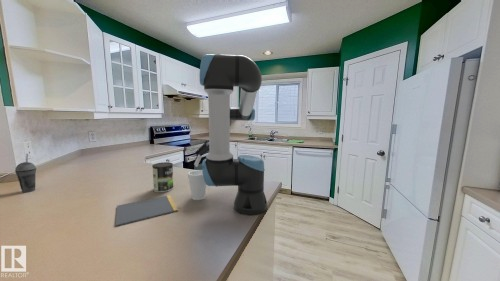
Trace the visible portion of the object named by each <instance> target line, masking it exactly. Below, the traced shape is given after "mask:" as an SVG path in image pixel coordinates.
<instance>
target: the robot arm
mask: <svg viewBox="0 0 500 281" xmlns="http://www.w3.org/2000/svg"><path fill="white" fill-rule="evenodd" d="M262 80H263V78H262V72H261V70H260V68H259V66H258V65H257V64H256V63H255V61H253V60H252V59H251V58H249V57H247V56H246V55H241V54H237V55H235V54H221V53H213V54H212V53H211V54H210V53H209V54H208V53H207V54H204V55H203V56H202V57H201V61H200V67H199V84H200V86H203V88H204V89H203V90H204V91H205V93H207V96H208V97H207V98H208V99H207V100H208V102H207V103H208V133H209V134H208V137H209V138H208V141H209V142H208V141H207V140H205V141H204V143H203V144H202V145H201V146H200V147H199V148H198V149H197V150H195V152H194V153H195V155H196V156H195V161H194V164H193V165H194V166H195V168H198V166H199V165H200V164H199V163H200V162H201V159H202V156H204V155H205V158H204V159H203V160H202V164H201V167H202V169H201V170H202V171H203V178H204V181H205V183H206V186H207V187H208V186H209V187H216V188H217V187H231V186H233V187H237V193H236V195H235V198H234V200H233V209H234V210H235V211H236V212H237V213H239V214H242V215H248V216H257V215H260V214H263V213H265V212H266V211H267V209H268V201H267V197H266V195H265V191H264V189H265V187H264V186H265V183H264V182H265V162H264V160H263V159H262V158H260V157H257V156H256V155H255V156H253V155H250V154H249V155H247V154H242V155H241V154H240V155H238V157H237V158H236V159H235V158H234V154H232V152H231V150H230V148H231V146H230V145H231V144H230V140H231V139H230V138H231V135H230V134H231V131H230V129H231V128H230V127H231V125H232V121H240V122H241V121H242V122H243V121H244V122H245V121H247V122H250V121H254V120H255V117H256V109H255V107H254V106H255V102H256V97H257V93H258V91H259V90H260V89H261V86H262ZM234 87H239V88H240V94H239V96H240V97H239V105H238V106H239V107H230V106H231V105H230V104H231V102H230V100H231V99H230V98H231V97H230V96H231V94H233V92H234ZM206 153H207V154H206Z"/></svg>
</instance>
